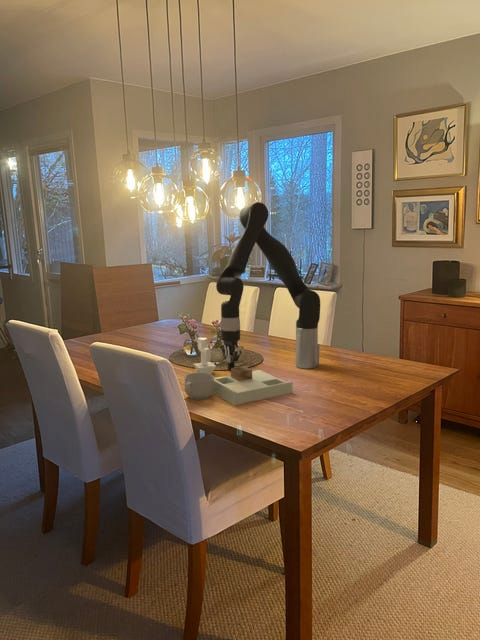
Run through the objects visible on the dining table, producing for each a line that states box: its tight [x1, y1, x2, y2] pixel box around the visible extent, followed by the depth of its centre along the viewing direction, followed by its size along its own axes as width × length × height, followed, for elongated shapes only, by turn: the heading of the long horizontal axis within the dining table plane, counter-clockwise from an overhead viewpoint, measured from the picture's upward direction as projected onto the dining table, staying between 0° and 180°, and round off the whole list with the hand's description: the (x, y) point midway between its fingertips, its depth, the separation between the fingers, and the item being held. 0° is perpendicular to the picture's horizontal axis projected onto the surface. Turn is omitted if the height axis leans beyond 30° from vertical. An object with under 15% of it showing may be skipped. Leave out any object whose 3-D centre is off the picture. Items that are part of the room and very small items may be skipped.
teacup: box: [184, 371, 216, 401], centre depth 192 cm, size 14×11×8 cm
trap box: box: [212, 369, 294, 406], centre depth 200 cm, size 25×24×5 cm
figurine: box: [193, 337, 217, 375], centre depth 221 cm, size 7×9×15 cm
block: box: [230, 365, 253, 381], centre depth 205 cm, size 6×6×4 cm
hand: (231, 370), depth 211 cm, fingers closed
